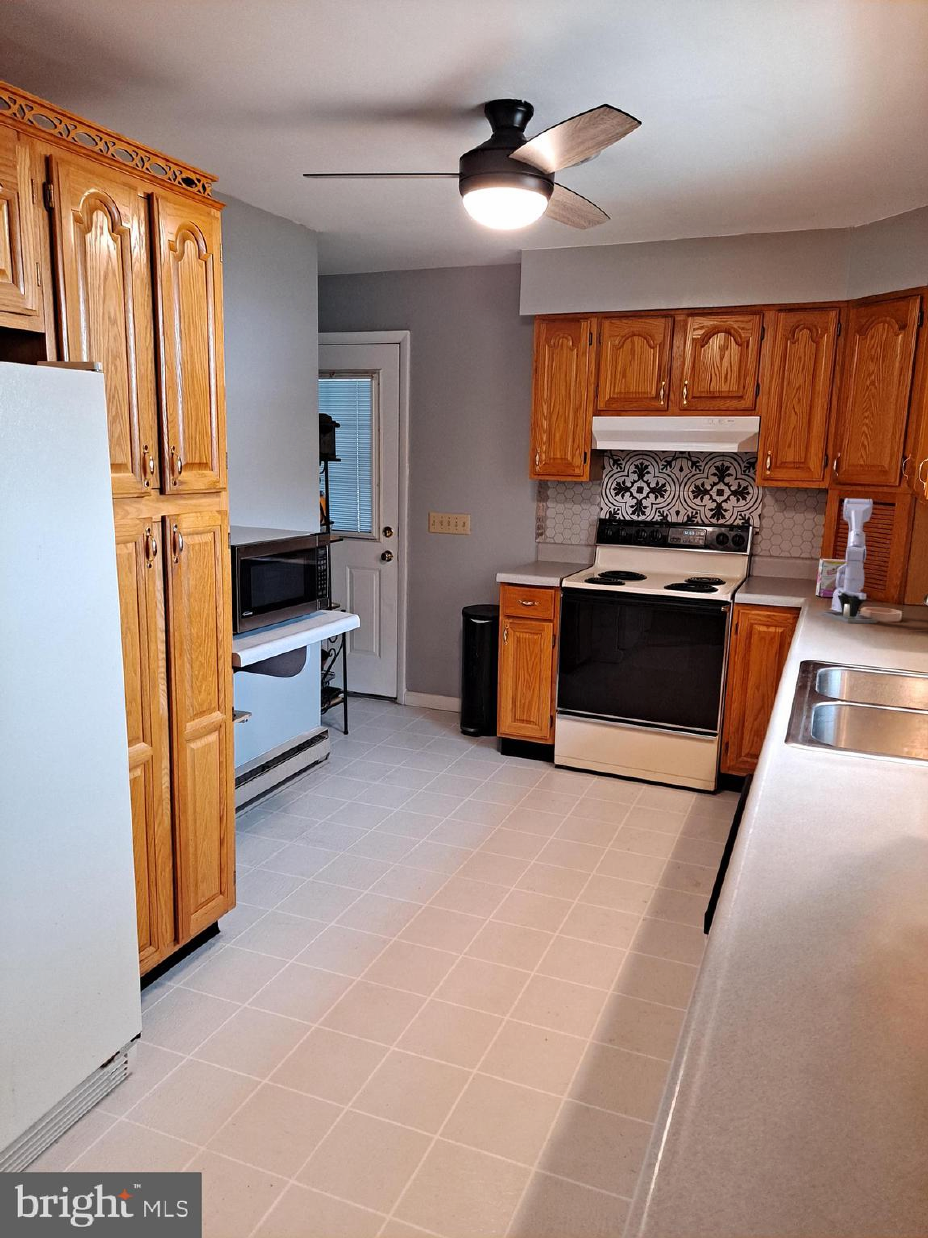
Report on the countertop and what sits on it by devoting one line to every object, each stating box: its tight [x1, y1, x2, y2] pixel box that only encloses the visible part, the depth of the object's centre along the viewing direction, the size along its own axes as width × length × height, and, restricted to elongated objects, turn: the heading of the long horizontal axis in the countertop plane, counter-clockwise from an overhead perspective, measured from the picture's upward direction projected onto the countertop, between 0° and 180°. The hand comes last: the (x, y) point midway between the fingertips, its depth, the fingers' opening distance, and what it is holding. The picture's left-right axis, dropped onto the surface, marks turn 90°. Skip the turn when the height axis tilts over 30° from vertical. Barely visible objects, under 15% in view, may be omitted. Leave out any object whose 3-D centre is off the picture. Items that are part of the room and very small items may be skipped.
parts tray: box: [821, 611, 878, 624], centre depth 329 cm, size 16×12×2 cm
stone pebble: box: [843, 604, 855, 619], centre depth 328 cm, size 4×4×5 cm
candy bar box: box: [815, 558, 846, 598], centre depth 382 cm, size 11×5×16 cm, turn 84°
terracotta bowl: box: [859, 606, 903, 622], centre depth 332 cm, size 13×13×4 cm
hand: (849, 615), depth 329 cm, fingers closed on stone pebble, 4 cm apart
